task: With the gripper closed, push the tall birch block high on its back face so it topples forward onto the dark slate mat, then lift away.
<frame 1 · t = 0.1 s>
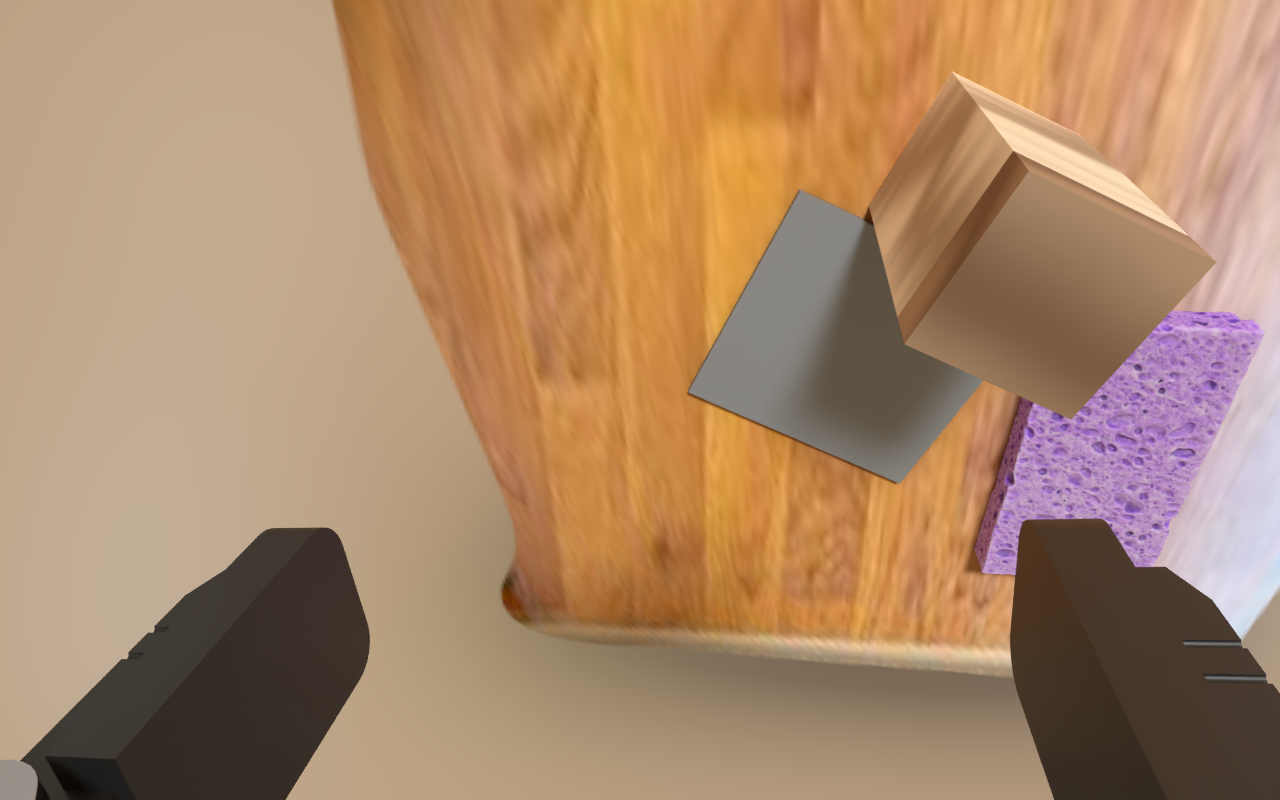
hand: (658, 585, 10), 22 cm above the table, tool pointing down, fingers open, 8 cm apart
sponges: (1091, 436, 34), on the table
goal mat: (853, 348, 33), on the table
birch block: (972, 172, 29), on the table
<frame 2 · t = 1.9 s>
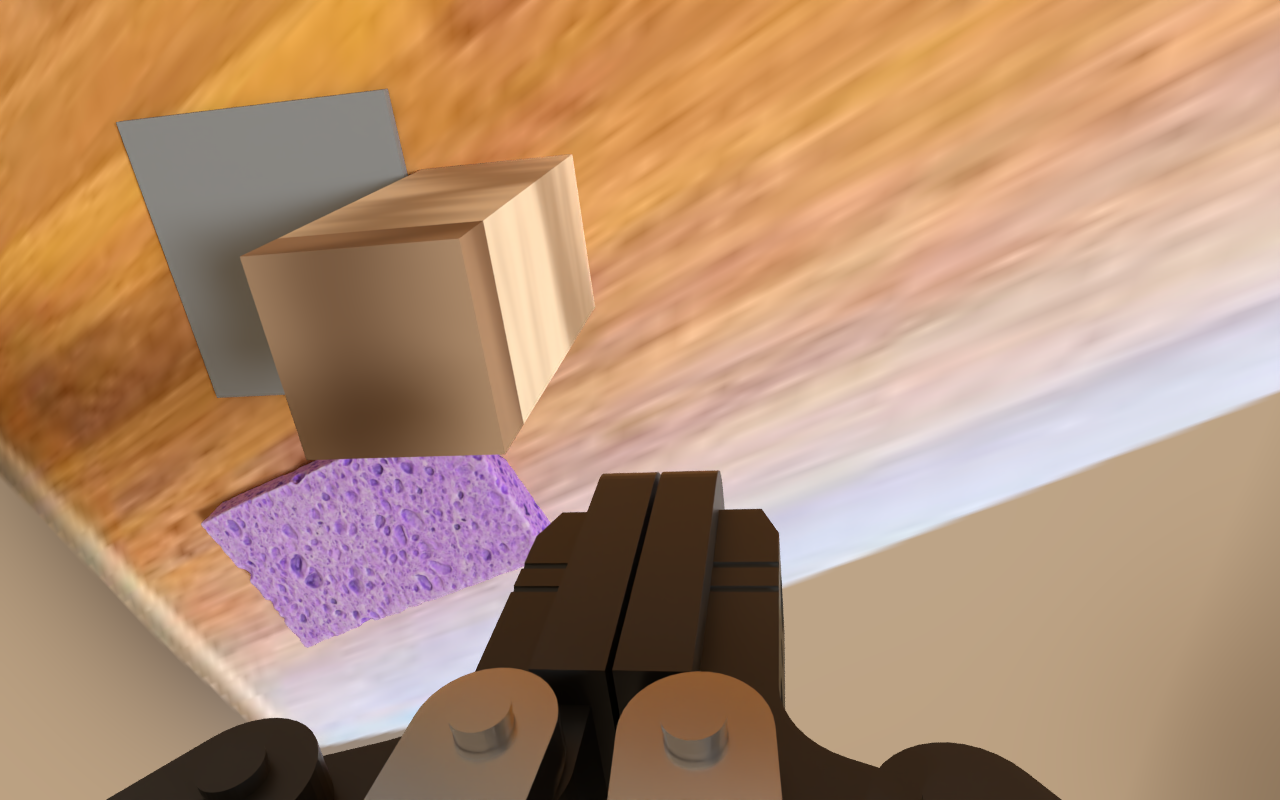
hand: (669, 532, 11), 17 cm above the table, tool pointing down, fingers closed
sponges: (392, 511, 34), on the table
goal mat: (296, 257, 29), on the table
birch block: (510, 239, 27), on the table
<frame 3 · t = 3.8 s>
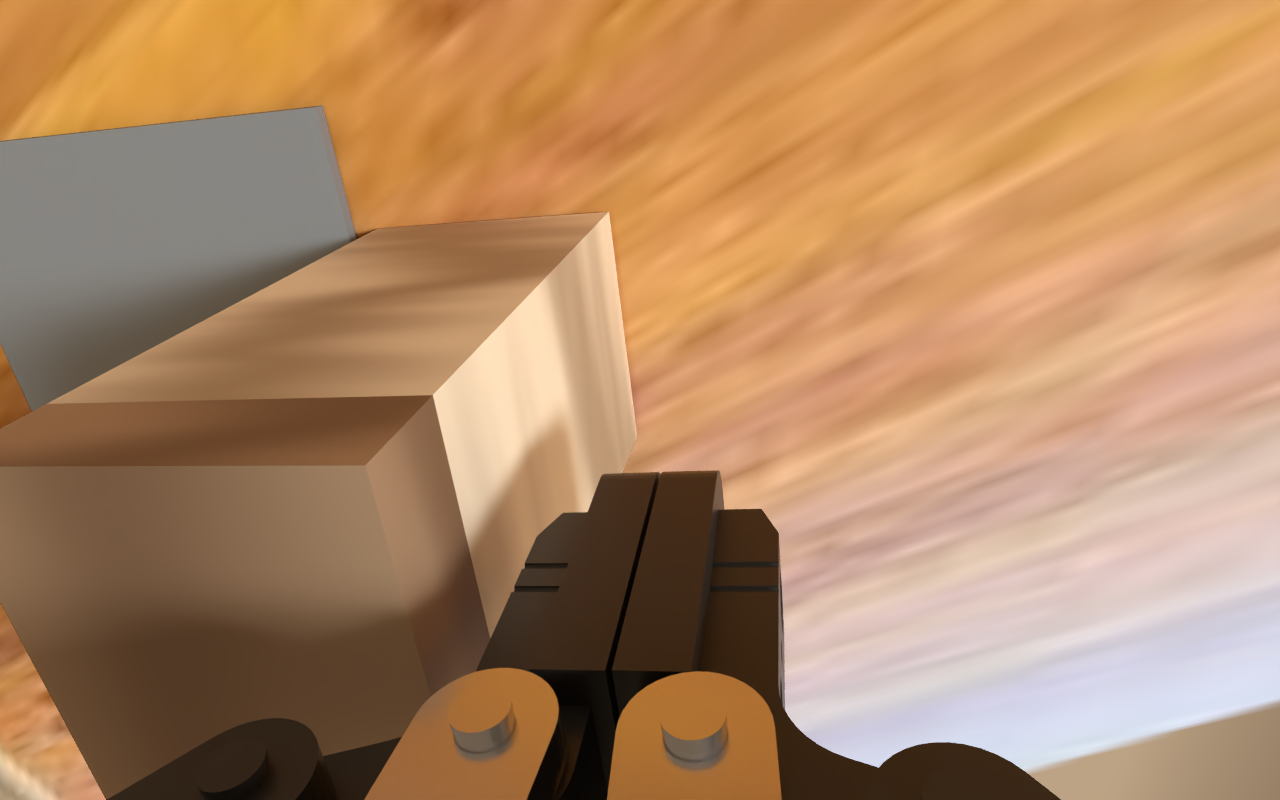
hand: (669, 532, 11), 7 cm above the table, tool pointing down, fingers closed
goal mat: (193, 351, 19), on the table
birch block: (511, 335, 18), on the table, touching gripper
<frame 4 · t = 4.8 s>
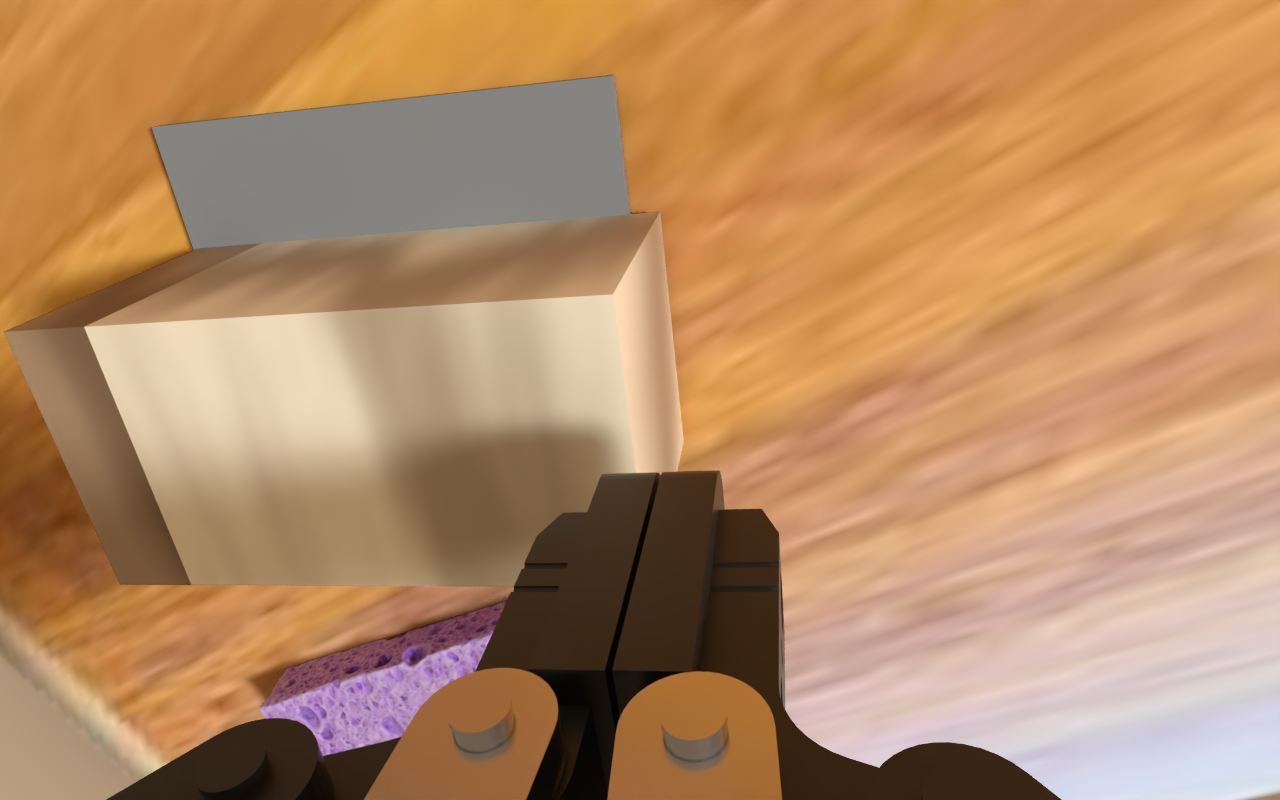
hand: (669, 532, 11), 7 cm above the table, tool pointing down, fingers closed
sponges: (536, 689, 23), on the table
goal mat: (431, 341, 18), on the table
birch block: (656, 384, 15), point 3 cm above the table, tilted 90°, touching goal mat
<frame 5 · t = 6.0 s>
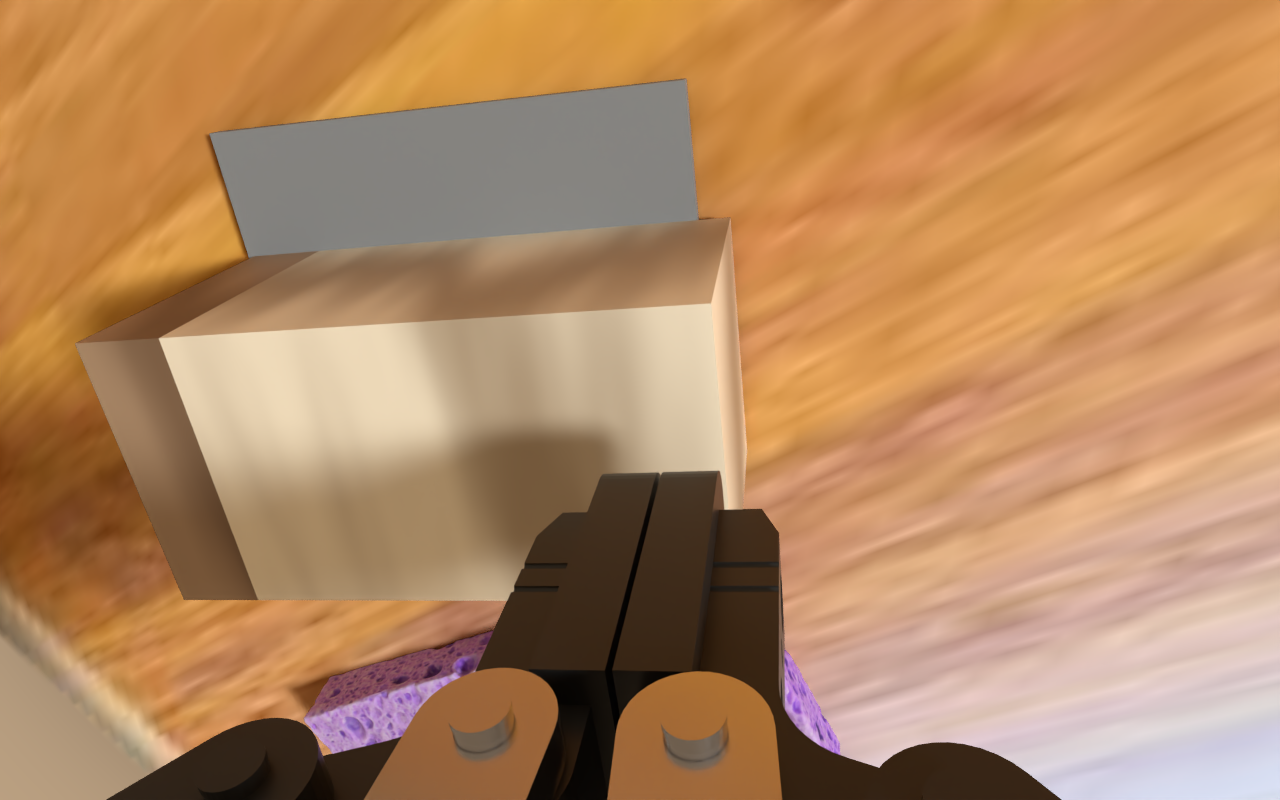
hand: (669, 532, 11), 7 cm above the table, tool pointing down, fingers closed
sponges: (583, 700, 23), on the table
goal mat: (489, 349, 18), on the table
birch block: (733, 393, 14), point 3 cm above the table, tilted 90°, touching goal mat
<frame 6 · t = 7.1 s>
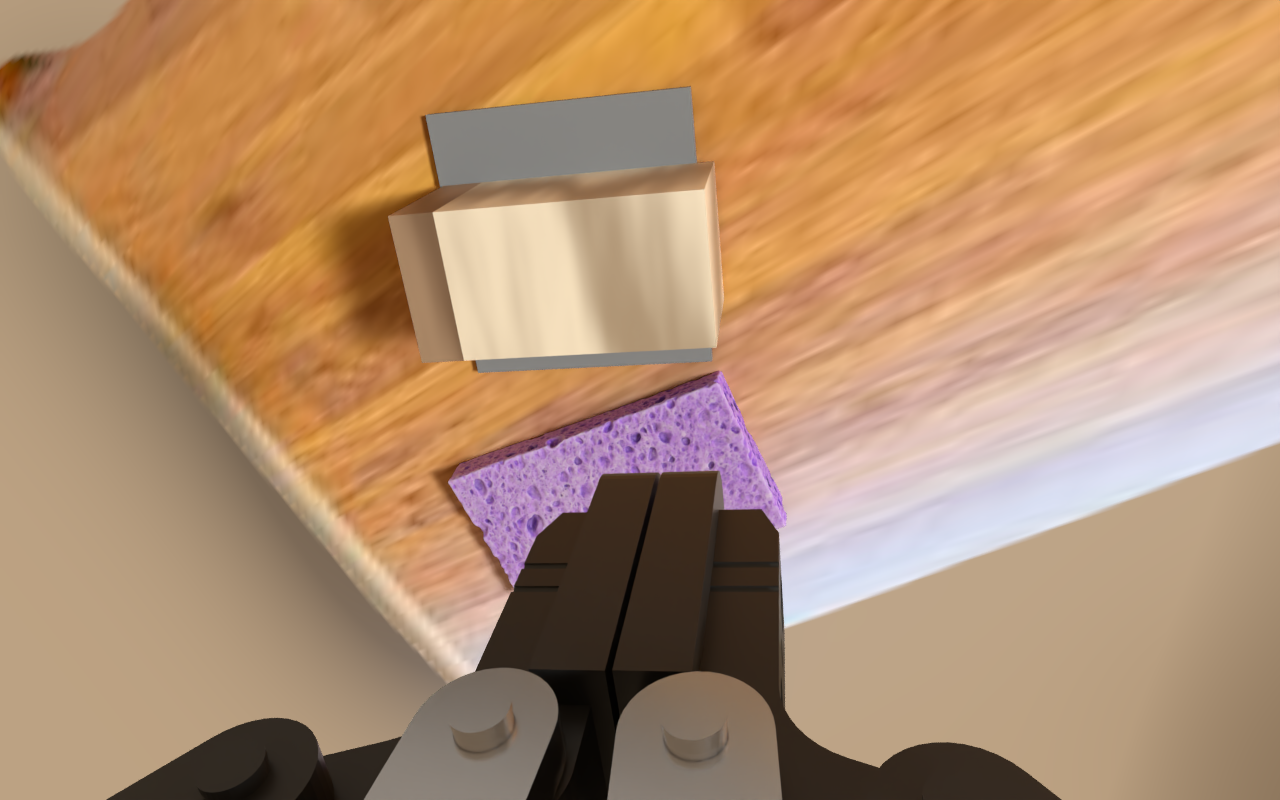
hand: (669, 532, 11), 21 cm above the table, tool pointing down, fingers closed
sponges: (621, 479, 36), on the table
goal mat: (576, 241, 31), on the table
birch block: (715, 250, 28), point 3 cm above the table, tilted 90°, touching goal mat
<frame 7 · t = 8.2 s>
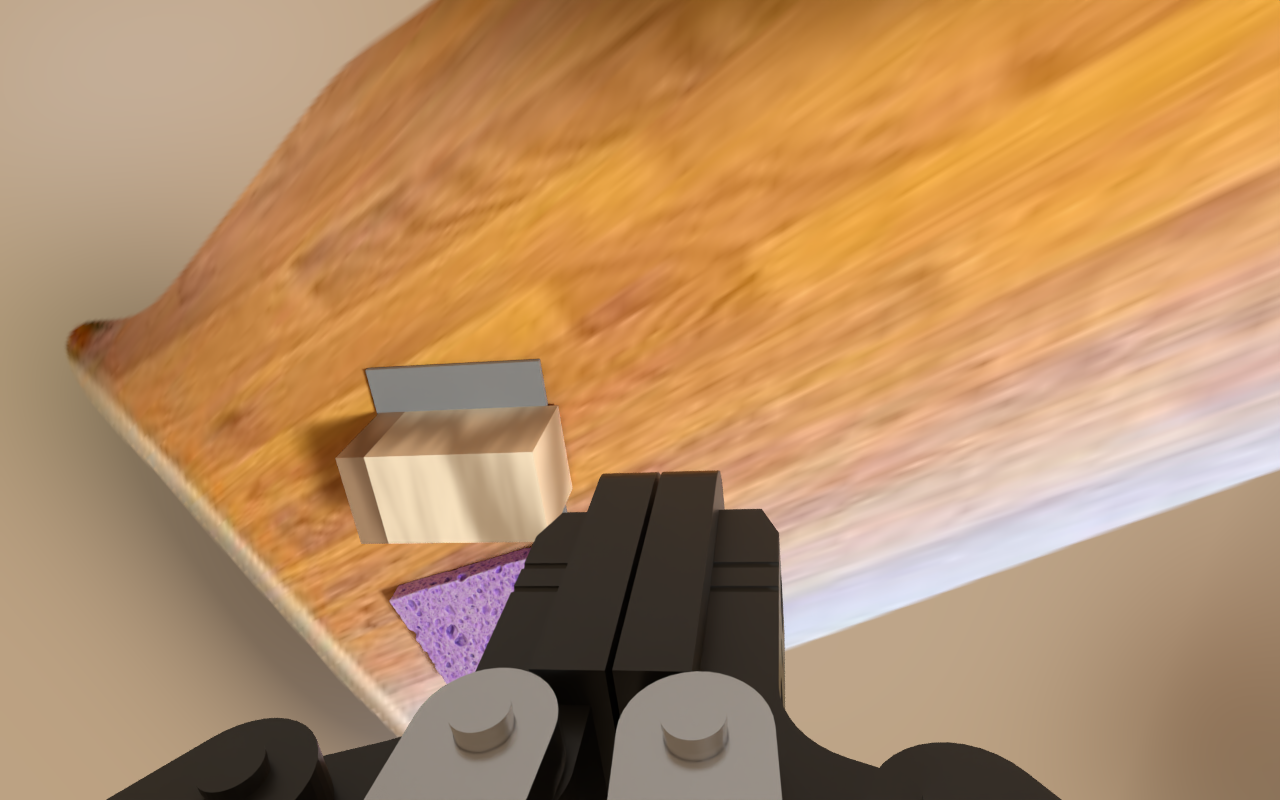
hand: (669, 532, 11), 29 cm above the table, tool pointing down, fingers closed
sponges: (515, 597, 50), on the table
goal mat: (471, 448, 45), on the table
birch block: (554, 471, 42), point 3 cm above the table, tilted 90°, touching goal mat
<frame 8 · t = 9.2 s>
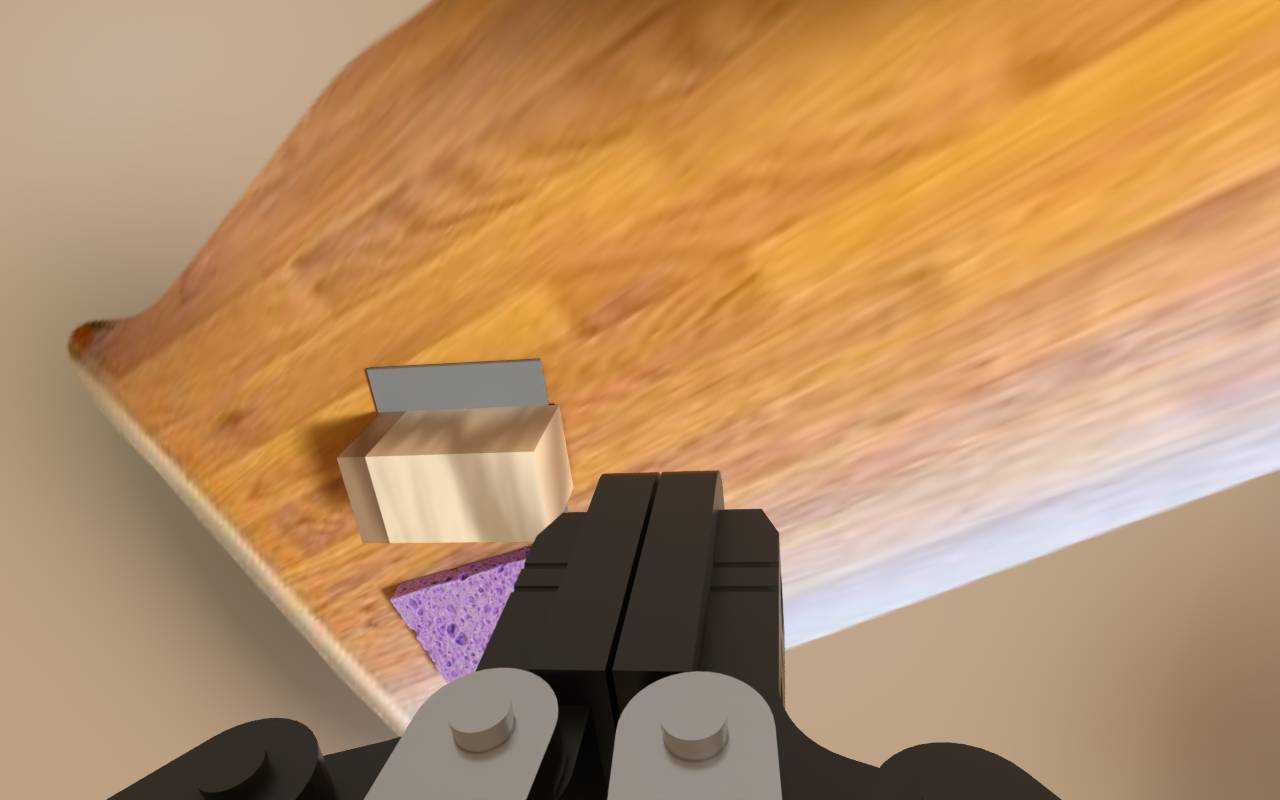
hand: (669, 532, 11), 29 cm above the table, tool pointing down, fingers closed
sponges: (516, 596, 50), on the table
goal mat: (472, 447, 45), on the table
birch block: (555, 471, 42), point 3 cm above the table, tilted 90°, touching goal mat
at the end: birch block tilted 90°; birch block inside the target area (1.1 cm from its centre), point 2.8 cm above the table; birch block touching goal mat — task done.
